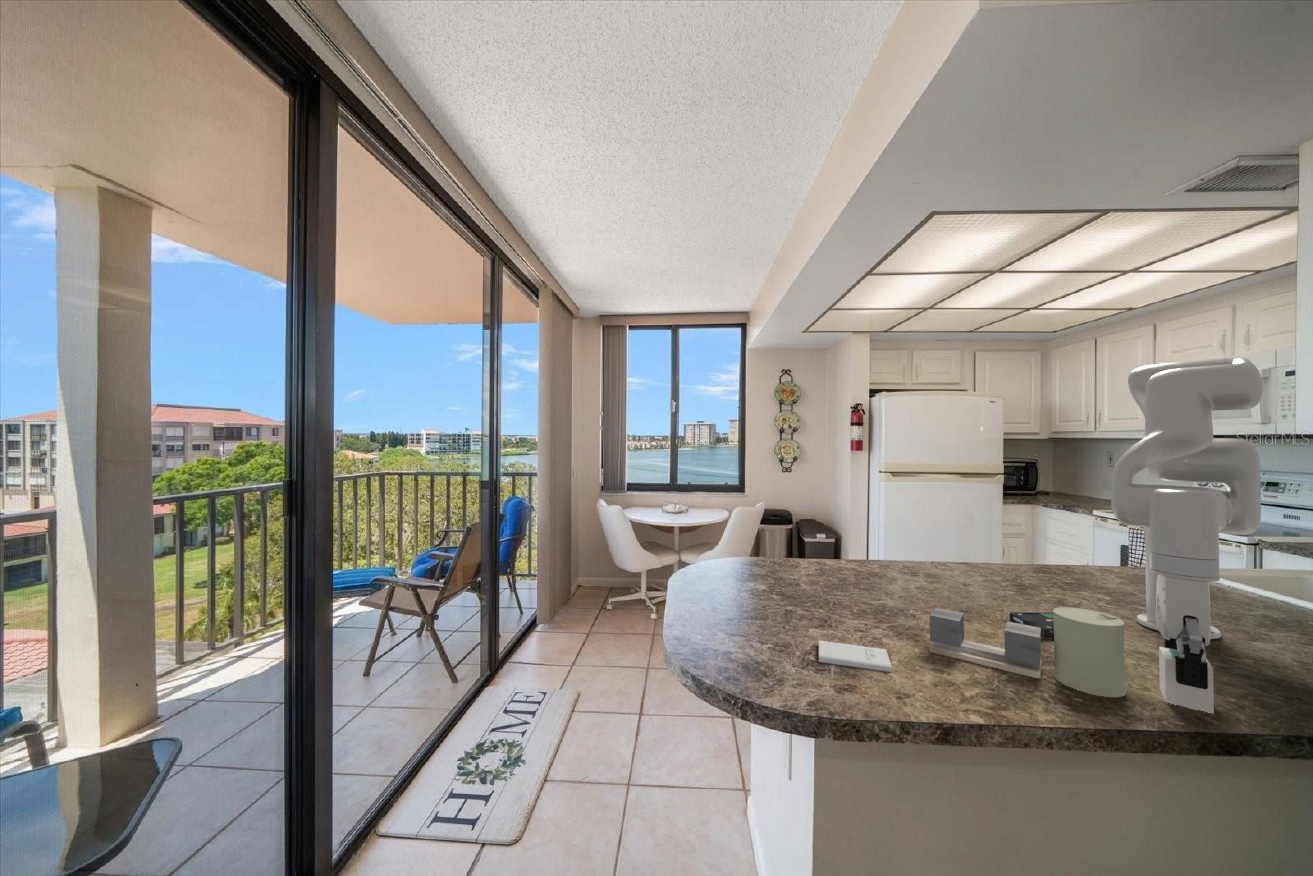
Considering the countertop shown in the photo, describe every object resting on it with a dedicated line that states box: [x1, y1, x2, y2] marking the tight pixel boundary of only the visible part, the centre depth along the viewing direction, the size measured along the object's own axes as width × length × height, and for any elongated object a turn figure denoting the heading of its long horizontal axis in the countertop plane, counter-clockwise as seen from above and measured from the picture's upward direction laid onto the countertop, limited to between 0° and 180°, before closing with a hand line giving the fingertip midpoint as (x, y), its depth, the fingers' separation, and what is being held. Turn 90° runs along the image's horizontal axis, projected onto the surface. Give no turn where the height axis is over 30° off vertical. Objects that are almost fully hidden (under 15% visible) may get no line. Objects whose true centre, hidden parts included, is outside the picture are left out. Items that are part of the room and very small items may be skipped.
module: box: [1158, 646, 1215, 715], centre depth 76 cm, size 6×5×7 cm
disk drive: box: [1009, 611, 1054, 640], centre depth 105 cm, size 10×3×15 cm
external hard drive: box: [818, 640, 893, 673], centre depth 91 cm, size 2×8×12 cm
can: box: [1052, 606, 1127, 698], centre depth 81 cm, size 9×9×12 cm
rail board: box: [929, 607, 1042, 680], centre depth 91 cm, size 7×17×7 cm, turn 50°
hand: (1185, 674), depth 76 cm, fingers open, 9 cm apart
